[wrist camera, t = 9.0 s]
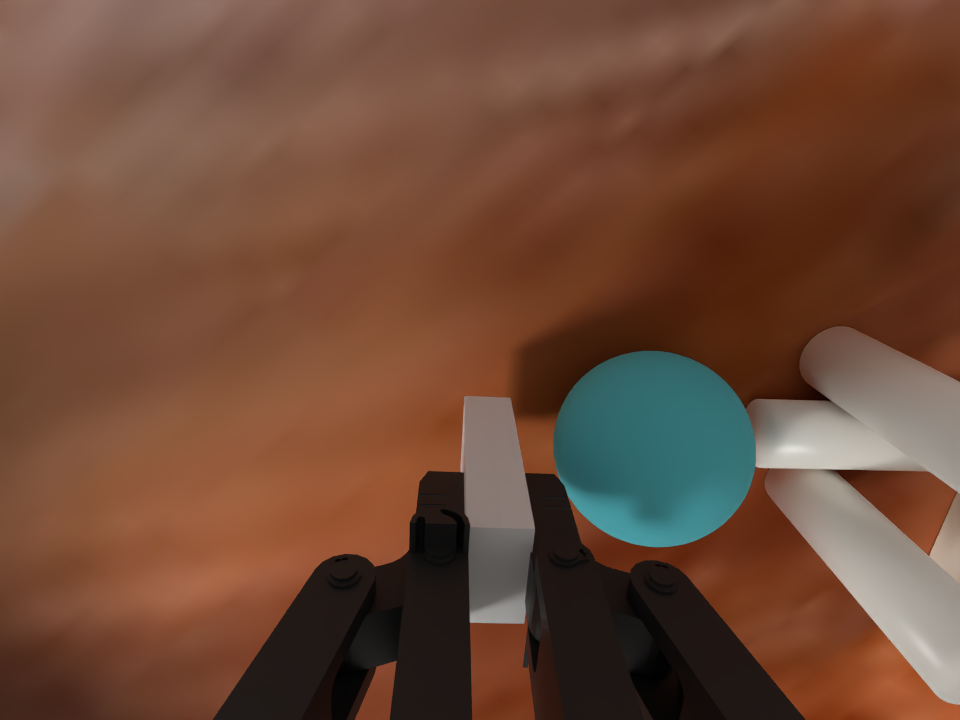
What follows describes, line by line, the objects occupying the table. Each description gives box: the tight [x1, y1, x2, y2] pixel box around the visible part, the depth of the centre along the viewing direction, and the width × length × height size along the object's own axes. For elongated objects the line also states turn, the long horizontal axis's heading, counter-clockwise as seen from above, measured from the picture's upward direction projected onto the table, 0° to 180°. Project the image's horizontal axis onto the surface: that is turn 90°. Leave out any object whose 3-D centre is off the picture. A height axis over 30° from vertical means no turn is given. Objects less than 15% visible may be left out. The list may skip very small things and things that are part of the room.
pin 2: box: [764, 468, 960, 705], centre depth 18 cm, size 2×2×8 cm
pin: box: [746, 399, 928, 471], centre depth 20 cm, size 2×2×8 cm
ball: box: [554, 351, 756, 547], centre depth 18 cm, size 6×6×6 cm
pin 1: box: [799, 326, 960, 494], centre depth 16 cm, size 2×2×8 cm
